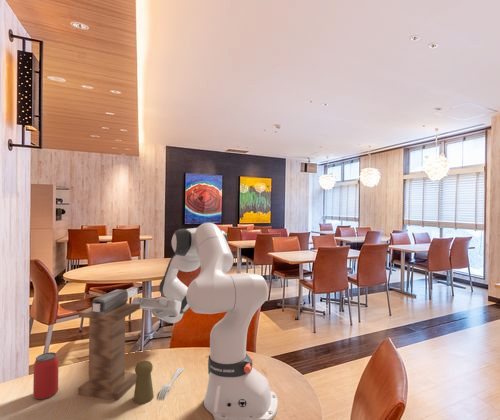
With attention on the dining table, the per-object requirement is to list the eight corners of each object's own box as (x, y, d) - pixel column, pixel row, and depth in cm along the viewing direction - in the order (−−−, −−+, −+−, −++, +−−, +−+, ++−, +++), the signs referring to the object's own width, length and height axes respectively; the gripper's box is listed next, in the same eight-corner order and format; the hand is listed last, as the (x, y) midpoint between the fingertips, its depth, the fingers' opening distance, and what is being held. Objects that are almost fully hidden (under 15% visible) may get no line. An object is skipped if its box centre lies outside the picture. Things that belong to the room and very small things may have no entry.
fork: (185, 375, 116) (185, 367, 116) (164, 403, 95) (164, 393, 96) (177, 374, 116) (178, 366, 117) (155, 402, 96) (155, 393, 96)
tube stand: (139, 379, 108) (140, 291, 108) (117, 400, 96) (118, 300, 96) (103, 374, 110) (104, 288, 110) (78, 394, 99) (79, 297, 99)
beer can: (28, 397, 97) (28, 358, 97) (48, 386, 103) (49, 350, 103) (42, 402, 95) (43, 362, 95) (63, 390, 101) (63, 353, 101)
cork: (147, 405, 94) (147, 368, 94) (129, 402, 95) (129, 366, 95) (157, 393, 100) (157, 359, 100) (140, 391, 101) (140, 357, 101)
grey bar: (139, 293, 118) (139, 286, 118) (99, 311, 96) (99, 304, 96) (133, 292, 118) (133, 286, 118) (92, 311, 97) (92, 303, 96)
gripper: (142, 298, 142) (127, 290, 130) (185, 302, 137) (173, 293, 126) (138, 313, 139) (122, 305, 127) (181, 317, 134) (169, 309, 123)
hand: (148, 299), depth 126 cm, fingers open, 8 cm apart
